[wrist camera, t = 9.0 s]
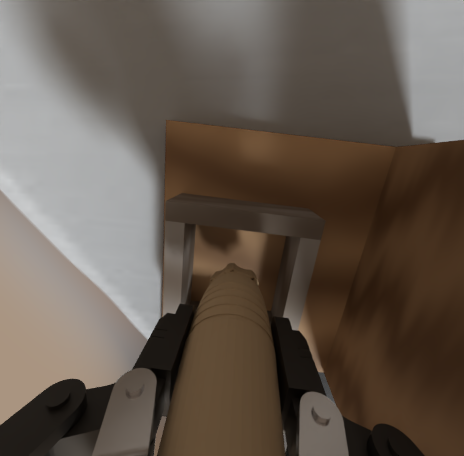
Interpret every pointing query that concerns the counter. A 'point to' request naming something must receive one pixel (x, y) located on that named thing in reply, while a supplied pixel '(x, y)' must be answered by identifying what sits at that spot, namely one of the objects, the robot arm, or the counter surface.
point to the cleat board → (335, 260)
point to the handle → (227, 376)
